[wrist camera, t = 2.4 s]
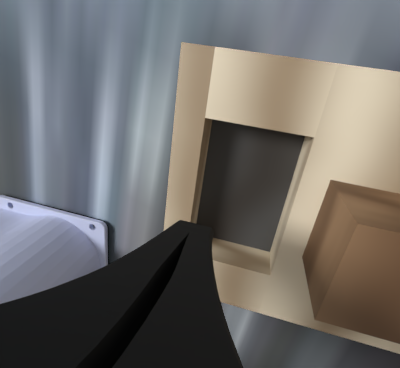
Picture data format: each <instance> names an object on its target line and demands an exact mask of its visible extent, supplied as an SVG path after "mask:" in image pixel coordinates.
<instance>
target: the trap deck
mask: <svg viewBox="0 0 400 368" xmlns="http://www.w3.org/2000/svg"><path fill="white" fill-rule="evenodd" d="M330 180H335V181H340V182H345V183H350V184H354V185H359V186H364V187H369V188H374V189H379V190H384V191H389V192H394V193H399V194H400V72H396V71H389V70H382V69H374V68H367V67H360V66H352V65H345V64H338V63H330V62H323V61H316V60H308V59H301V58H294V57H286V56H279V55H272V54H264V53H257V52H249V51H242V50H235V49H227V48H220V47H213V46H205V45H198V44H191V43H183V42H181V52H180V63H179V73H178V84H177V95H176V105H175V116H174V126H173V137H172V148H171V158H170V169H169V180H168V190H167V201H166V211H165V222H164V231H165V230H166V229H167V228H169V227H170V226H172V225H173V224H174V223H176V222H177V221H179V220H183V221H187V222H191V223H195V224H199V225H203V226H207V227H211V228H213V230H214V235H213V241H212V257H213V266H214V273H215V279H216V284H217V289H218V294H219V298H220V302H223V303H226V304H230V305H233V306H237V307H240V308H244V309H247V310H250V311H254V312H257V313H261V314H264V315H268V316H271V317H275V318H278V319H281V320H285V321H288V322H292V323H295V324H299V325H302V326H305V327H309V328H312V329H316V330H319V331H323V332H326V333H330V334H333V335H336V336H340V337H343V338H347V339H350V340H354V341H357V342H361V343H364V344H367V345H371V346H374V347H378V348H381V349H385V350H388V351H391V352H395V353H398V354H400V344H398V343H394V342H391V341H387V340H384V339H380V338H377V337H373V336H370V335H366V334H363V333H359V332H356V331H352V330H348V329H345V328H341V327H338V326H334V325H331V324H327V323H324V322H320V321H317V320H314V315H313V310H312V305H311V300H310V295H309V289H308V284H307V279H306V274H305V269H304V264H303V259H302V256H303V253H304V250H305V248H306V245H307V242H308V239H309V237H310V234H311V231H312V229H313V226H314V223H315V221H316V218H317V215H318V212H319V210H320V207H321V204H322V202H323V199H324V196H325V194H326V191H327V188H328V185H329V183H330Z"/></svg>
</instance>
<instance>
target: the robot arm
mask: <svg viewBox="0 0 400 368" xmlns="http://www.w3.org/2000/svg"><path fill="white" fill-rule="evenodd" d="M93 225H94V226H95V227H94V226H93ZM213 235H214V230H213V228H211V227H207V226H203V225H199V224H195V223H191V222H187V221H183V220H179V221H177V222H176V223H174V224H173V225H172V226H170V227H169V228H167V229H166V230H165V231H163V232H162V233H160V234H159V235H157V236H156V237H154V238H153V239H151V240H150V241H148V242H147V243H145V244H144V245H142V246H140V247H139V248H137V249H135V250H134V251H132V252H130V253H129V254H127V255H125V256H123V257H122V258H120V259H118V260H116V261H114V262H112V263H110V264H108V231H107V225H106V223H104V222H103V221H100V220H97V219H93V218H89V217H85V216H81V215H77V214H74V213H70V212H66V211H62V210H58V209H54V208H50V207H47V206H43V205H39V204H35V203H31V202H27V201H24V200H20V199H16V198H12V197H8V196H4V195H0V368H243V366H242V363H241V361H240V358H239V356H238V353H237V350H236V348H235V345H234V342H233V340H232V337H231V335H230V332H229V329H228V326H227V322H226V319H225V316H224V313H223V309H222V306H221V302H220V298H219V294H218V289H217V284H216V279H215V273H214V266H213V257H212V241H213Z"/></svg>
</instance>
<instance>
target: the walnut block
mask: <svg viewBox="0 0 400 368" xmlns="http://www.w3.org/2000/svg"><path fill="white" fill-rule="evenodd" d="M302 259H303V264H304V269H305V274H306V279H307V284H308V289H309V295H310V300H311V305H312V310H313V315H314V320H317V321H320V322H324V323H327V324H331V325H334V326H338V327H341V328H345V329H348V330H352V331H356V332H359V333H363V334H366V335H370V336H373V337H377V338H380V339H384V340H387V341H391V342H394V343H398V344H400V194H399V193H394V192H389V191H384V190H379V189H374V188H369V187H364V186H359V185H354V184H350V183H345V182H340V181H335V180H330V183H329V185H328V188H327V191H326V194H325V196H324V199H323V202H322V204H321V207H320V210H319V212H318V215H317V218H316V221H315V223H314V226H313V229H312V231H311V234H310V237H309V239H308V242H307V245H306V248H305V250H304V253H303V256H302Z"/></svg>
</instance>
